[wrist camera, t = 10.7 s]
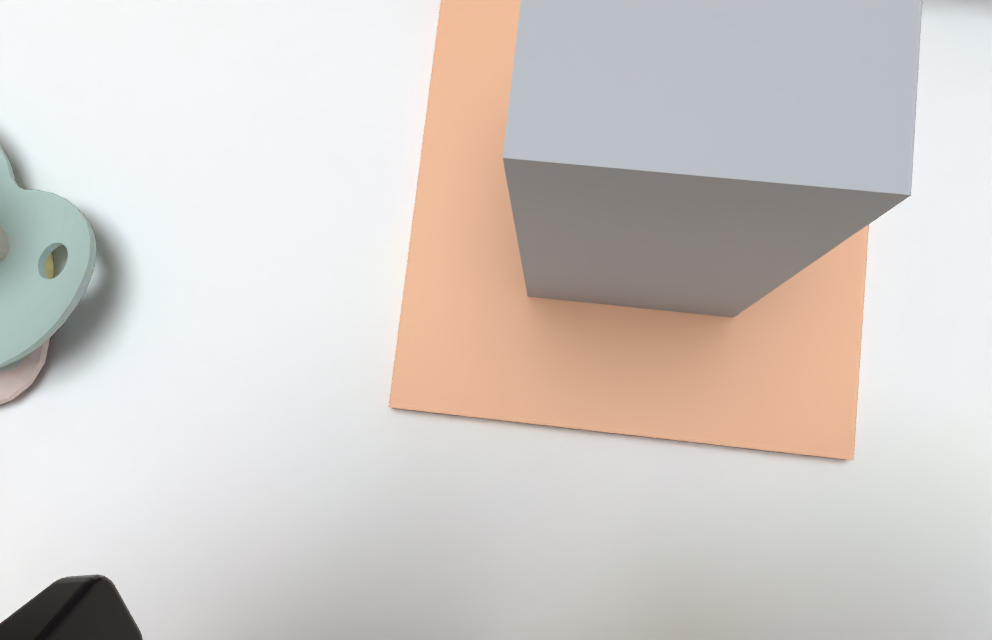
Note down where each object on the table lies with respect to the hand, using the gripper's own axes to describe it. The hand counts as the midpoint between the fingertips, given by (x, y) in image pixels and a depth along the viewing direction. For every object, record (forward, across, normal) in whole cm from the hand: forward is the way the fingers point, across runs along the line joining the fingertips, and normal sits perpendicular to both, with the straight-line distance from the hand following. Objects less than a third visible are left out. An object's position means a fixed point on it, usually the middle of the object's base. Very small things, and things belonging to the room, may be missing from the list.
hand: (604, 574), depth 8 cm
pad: (+14, 0, +3) cm, 14 cm away
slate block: (+13, 0, +3) cm, 14 cm away
